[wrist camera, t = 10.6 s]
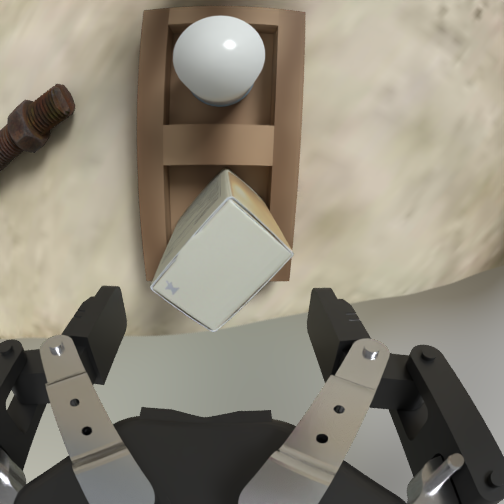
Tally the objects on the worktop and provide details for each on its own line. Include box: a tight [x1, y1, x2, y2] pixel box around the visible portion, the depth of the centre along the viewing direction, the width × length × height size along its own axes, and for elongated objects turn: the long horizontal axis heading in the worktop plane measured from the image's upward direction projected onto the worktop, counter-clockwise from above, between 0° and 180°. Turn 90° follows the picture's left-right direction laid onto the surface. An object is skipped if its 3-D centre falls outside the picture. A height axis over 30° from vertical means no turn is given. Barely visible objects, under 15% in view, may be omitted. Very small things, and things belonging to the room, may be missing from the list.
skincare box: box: [150, 167, 294, 332], centre depth 20 cm, size 6×4×12 cm
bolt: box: [0, 84, 75, 171], centre depth 20 cm, size 6×5×15 cm
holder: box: [137, 6, 305, 281], centre depth 23 cm, size 12×22×3 cm, turn 178°
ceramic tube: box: [173, 16, 265, 107], centre depth 18 cm, size 5×5×8 cm
